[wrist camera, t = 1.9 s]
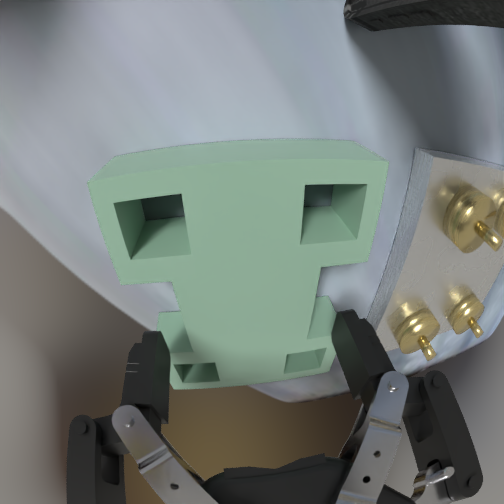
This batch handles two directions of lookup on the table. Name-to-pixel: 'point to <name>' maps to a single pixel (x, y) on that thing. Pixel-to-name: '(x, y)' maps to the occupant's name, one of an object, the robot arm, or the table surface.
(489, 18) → the phone
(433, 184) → the chassis
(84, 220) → the table surface
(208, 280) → the board
